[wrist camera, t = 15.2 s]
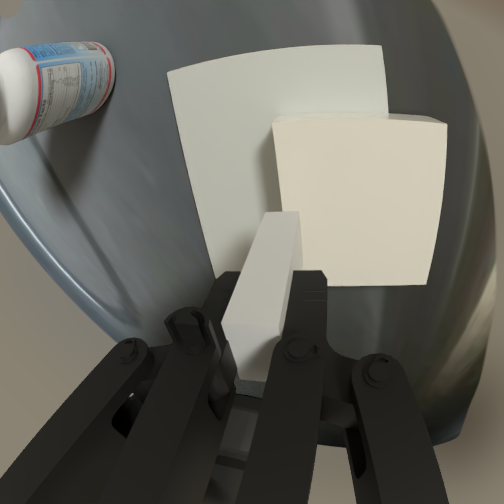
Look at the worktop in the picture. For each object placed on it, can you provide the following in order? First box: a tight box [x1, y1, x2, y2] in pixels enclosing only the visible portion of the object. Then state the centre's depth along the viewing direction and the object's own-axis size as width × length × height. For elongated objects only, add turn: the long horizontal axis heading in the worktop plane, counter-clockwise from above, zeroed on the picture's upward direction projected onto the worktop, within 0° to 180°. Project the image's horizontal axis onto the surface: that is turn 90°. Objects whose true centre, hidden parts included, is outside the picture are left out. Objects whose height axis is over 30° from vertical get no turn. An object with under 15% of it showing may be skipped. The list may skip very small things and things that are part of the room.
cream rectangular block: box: [272, 113, 447, 286], centre depth 16 cm, size 10×3×9 cm
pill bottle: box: [0, 42, 115, 145], centre depth 12 cm, size 6×6×11 cm
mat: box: [167, 45, 388, 278], centre depth 18 cm, size 16×13×1 cm
